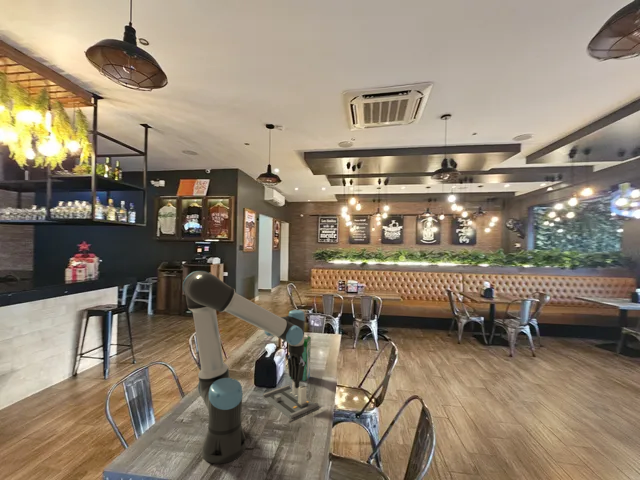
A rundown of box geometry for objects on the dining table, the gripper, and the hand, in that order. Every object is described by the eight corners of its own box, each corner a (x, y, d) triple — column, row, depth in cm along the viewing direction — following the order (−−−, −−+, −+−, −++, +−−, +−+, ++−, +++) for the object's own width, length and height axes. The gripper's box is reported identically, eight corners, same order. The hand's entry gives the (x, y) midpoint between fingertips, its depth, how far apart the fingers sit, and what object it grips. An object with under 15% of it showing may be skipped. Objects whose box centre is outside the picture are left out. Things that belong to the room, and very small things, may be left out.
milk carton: (306, 383, 161) (307, 337, 161) (290, 381, 162) (291, 336, 163) (310, 376, 169) (310, 332, 170) (294, 374, 171) (295, 331, 172)
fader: (302, 408, 132) (302, 389, 132) (296, 404, 136) (296, 386, 136) (308, 405, 135) (308, 387, 135) (302, 401, 138) (302, 383, 138)
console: (290, 422, 125) (290, 414, 125) (261, 399, 143) (261, 392, 143) (318, 409, 135) (319, 401, 135) (288, 389, 153) (289, 382, 154)
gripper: (310, 345, 137) (310, 396, 137) (294, 338, 147) (294, 386, 147) (297, 349, 133) (296, 402, 132) (282, 341, 143) (281, 390, 142)
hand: (295, 393), depth 139 cm, fingers closed
